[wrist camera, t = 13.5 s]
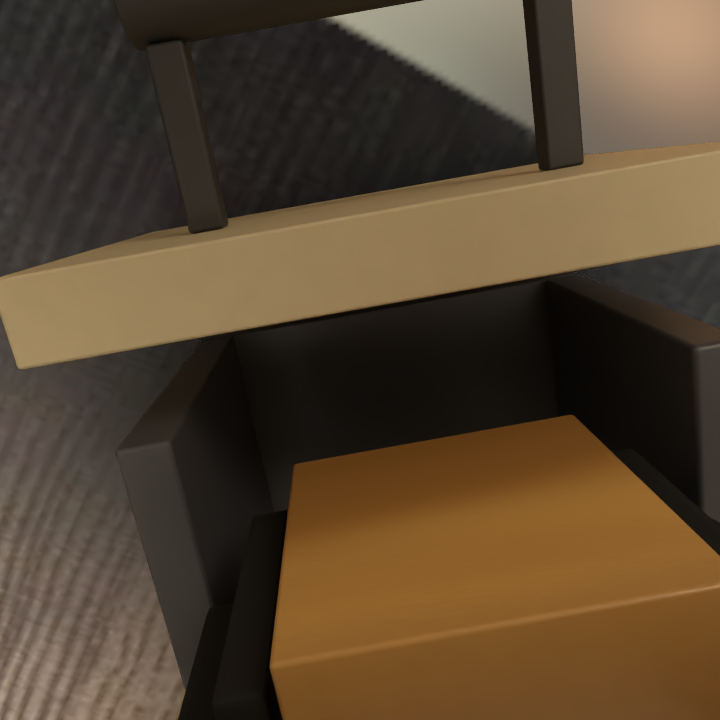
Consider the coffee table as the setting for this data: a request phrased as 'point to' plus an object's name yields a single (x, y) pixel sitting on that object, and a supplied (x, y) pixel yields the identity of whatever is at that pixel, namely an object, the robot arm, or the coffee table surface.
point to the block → (492, 586)
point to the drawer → (379, 310)
